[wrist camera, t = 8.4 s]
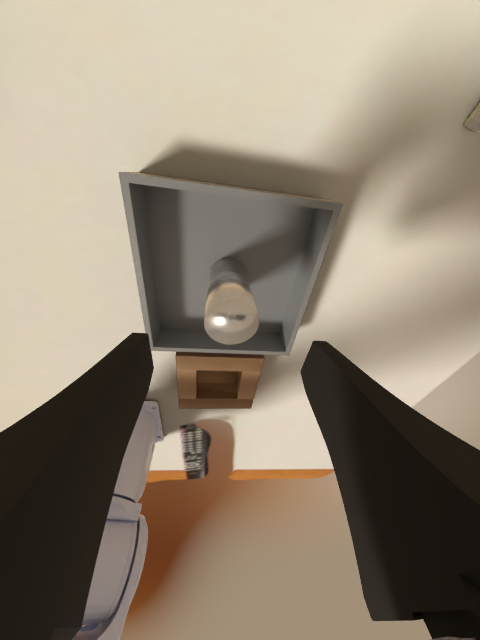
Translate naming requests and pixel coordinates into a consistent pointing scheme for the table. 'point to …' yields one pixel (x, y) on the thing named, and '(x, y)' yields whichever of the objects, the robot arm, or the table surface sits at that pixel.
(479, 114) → the caliper
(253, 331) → the pin
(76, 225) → the table surface
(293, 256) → the tray
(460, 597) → the robot arm
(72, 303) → the table surface
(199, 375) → the pin block
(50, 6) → the table surface
